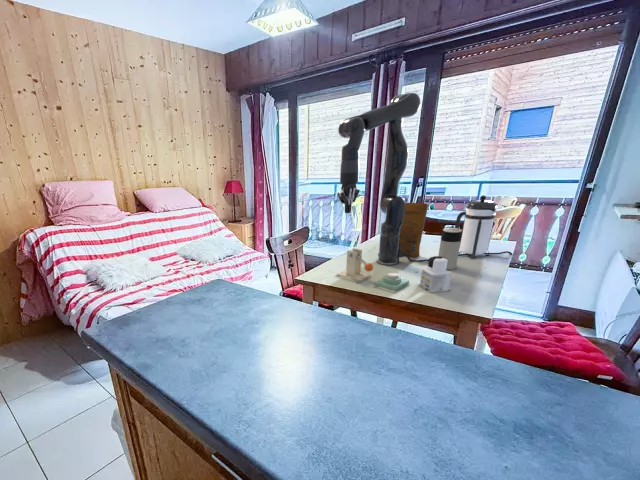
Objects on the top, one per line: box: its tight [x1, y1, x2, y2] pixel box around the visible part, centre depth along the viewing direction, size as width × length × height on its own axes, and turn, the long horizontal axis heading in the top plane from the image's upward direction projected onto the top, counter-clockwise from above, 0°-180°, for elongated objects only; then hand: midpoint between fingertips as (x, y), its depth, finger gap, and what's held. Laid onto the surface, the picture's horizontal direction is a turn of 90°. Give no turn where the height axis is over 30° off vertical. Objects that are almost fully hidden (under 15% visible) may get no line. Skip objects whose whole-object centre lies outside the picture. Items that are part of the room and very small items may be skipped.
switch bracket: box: [336, 248, 371, 281], centre depth 148 cm, size 12×9×13 cm
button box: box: [374, 274, 410, 291], centre depth 137 cm, size 11×9×4 cm
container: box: [419, 255, 452, 293], centre depth 131 cm, size 8×8×13 cm
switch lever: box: [352, 249, 374, 272], centre depth 144 cm, size 12×4×4 cm
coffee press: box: [454, 194, 498, 259], centre depth 165 cm, size 17×16×30 cm
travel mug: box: [437, 227, 462, 270], centre depth 152 cm, size 8×8×18 cm
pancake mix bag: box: [399, 202, 429, 258], centre depth 171 cm, size 7×19×28 cm, turn 43°
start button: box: [387, 272, 399, 279], centre depth 136 cm, size 4×4×2 cm
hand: (347, 212), depth 143 cm, fingers closed
